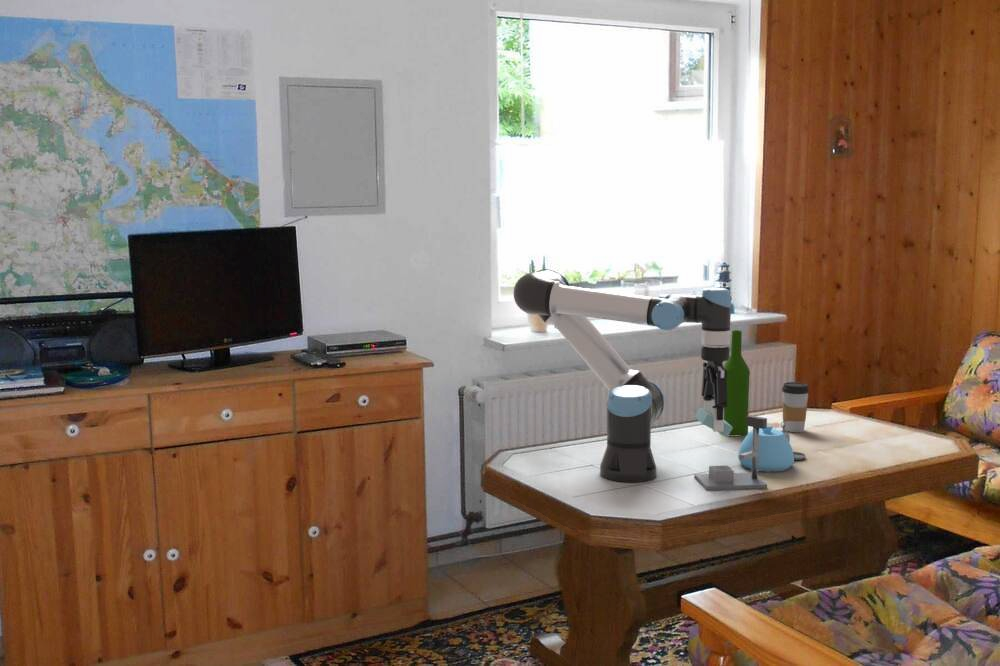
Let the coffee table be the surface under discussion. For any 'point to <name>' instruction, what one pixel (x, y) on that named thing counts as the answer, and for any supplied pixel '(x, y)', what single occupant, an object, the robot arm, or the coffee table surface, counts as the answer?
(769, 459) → the sugar bowl
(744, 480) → the grey base plate
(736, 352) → the wine bottle
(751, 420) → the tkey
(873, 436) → the coffee table surface
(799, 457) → the pocket watch
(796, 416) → the coffee cup
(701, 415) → the lid
